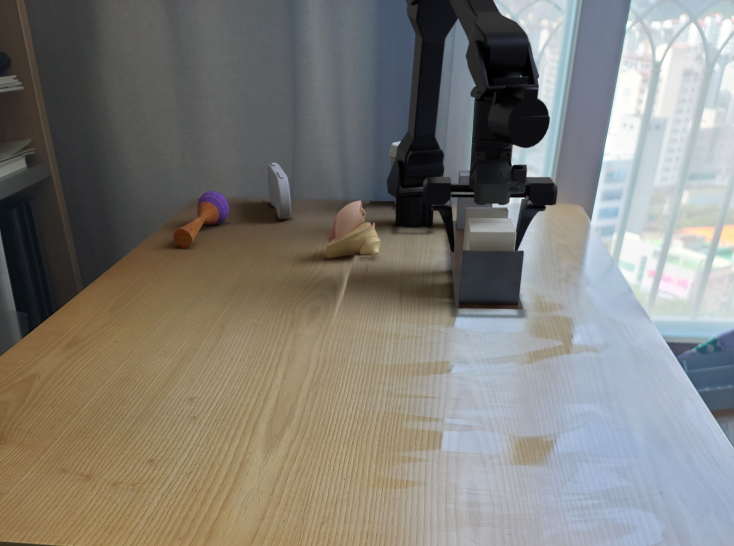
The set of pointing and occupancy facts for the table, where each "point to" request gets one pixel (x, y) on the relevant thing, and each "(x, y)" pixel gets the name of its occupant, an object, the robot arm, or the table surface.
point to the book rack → (485, 276)
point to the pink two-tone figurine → (352, 233)
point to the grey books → (465, 201)
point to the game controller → (279, 190)
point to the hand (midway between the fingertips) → (483, 252)
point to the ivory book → (483, 215)
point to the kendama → (203, 217)
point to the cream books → (490, 234)
